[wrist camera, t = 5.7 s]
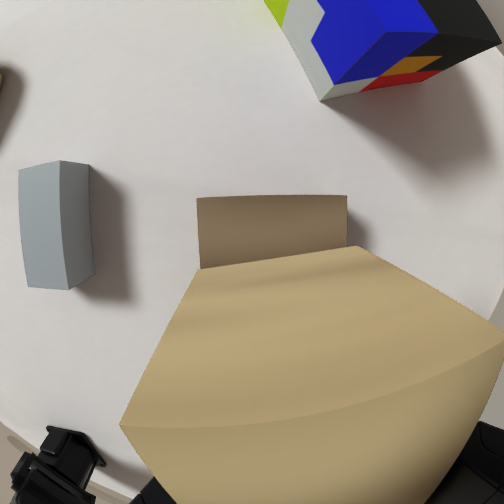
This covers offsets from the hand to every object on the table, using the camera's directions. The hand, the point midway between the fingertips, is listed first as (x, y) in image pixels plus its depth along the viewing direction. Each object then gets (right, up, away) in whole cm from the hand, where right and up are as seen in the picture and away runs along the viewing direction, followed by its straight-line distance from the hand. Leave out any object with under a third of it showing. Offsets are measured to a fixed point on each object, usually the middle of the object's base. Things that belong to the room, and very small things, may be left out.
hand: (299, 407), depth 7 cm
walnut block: (0, +3, +13) cm, 13 cm away
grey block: (-15, +7, +11) cm, 20 cm away
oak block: (0, 0, +1) cm, 1 cm away
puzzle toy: (+6, +21, +9) cm, 24 cm away
